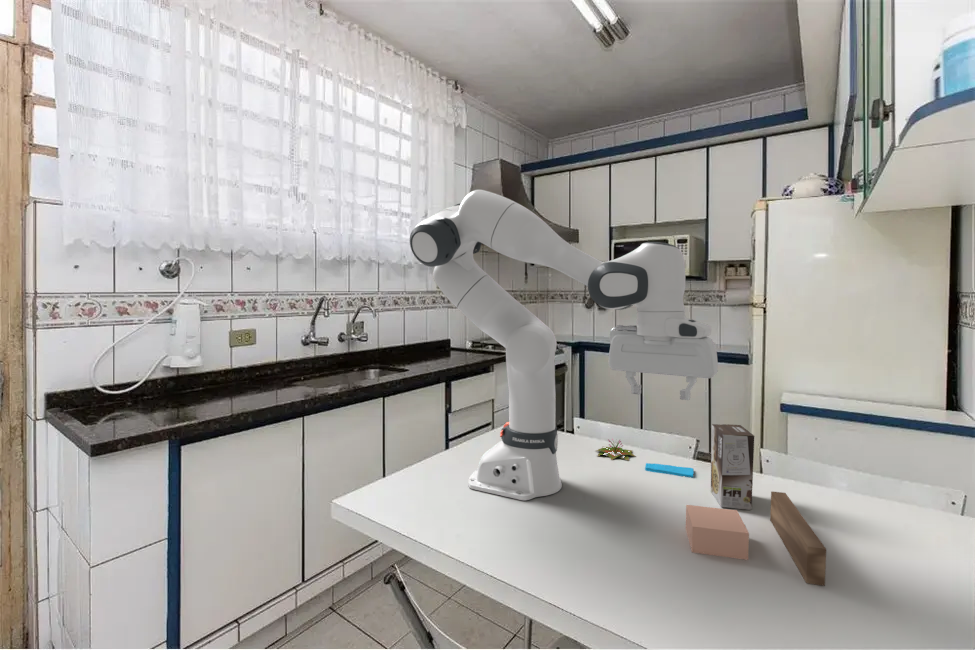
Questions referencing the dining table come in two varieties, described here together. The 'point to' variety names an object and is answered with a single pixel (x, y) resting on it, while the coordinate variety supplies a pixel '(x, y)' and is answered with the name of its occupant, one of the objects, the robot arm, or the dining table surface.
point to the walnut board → (798, 539)
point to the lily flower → (615, 451)
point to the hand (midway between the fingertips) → (659, 396)
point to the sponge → (670, 469)
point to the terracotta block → (716, 532)
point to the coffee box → (732, 466)
